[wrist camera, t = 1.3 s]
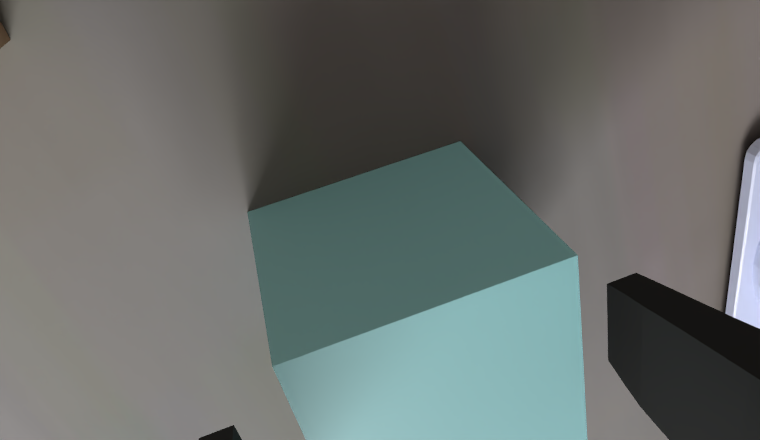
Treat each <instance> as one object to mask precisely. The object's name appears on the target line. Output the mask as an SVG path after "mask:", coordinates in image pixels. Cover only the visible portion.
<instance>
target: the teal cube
mask: <svg viewBox="0 0 760 440" xmlns="http://www.w3.org/2000/svg"><path fill="white" fill-rule="evenodd" d="M248 218H249V224H250V230H251V237H252V243H253V249H254V255H255V262H256V268H257V274H258V280H259V286H260V293H261V299H262V305H263V311H264V318H265V324H266V330H267V336H268V342H269V349H270V355H271V361H272V367H273V369H274V371H275V373H276V375H277V378H278V380H279V382H280V384H281V386H282V389H283V391H284V393H285V395H286V397H287V399H288V402H289V404H290V406H291V408H292V410H293V413H294V415H295V417H296V419H297V421H298V423H299V426H300V428H301V430H302V432H303V434H304V437H305V439H306V440H587V424H586V405H585V386H584V367H583V348H582V328H581V309H580V290H579V271H578V255H577V254H576V253H575V252H574V251H573V250H572V249H571V248H570V247H569V246H568V245H567V244H566V243H565V242H564V241H562V240H561V239H560V238H559V237H558V236H557V235H556V234H555V233H554V232H553V231H552V230H551V229H550V228H549V227H548V226H547V225H546V224H545V223H544V222H543V221H542V220H541V219H540V218H539V217H538V216H537V215H536V214H535V213H534V212H533V211H532V210H531V209H530V208H529V207H528V206H527V205H525V204H524V203H523V202H522V201H521V200H520V199H519V198H518V197H517V196H516V195H515V194H514V193H513V192H512V191H511V190H510V189H509V188H508V187H507V186H506V185H505V184H504V183H503V182H502V181H501V180H500V179H499V178H498V177H497V176H496V175H495V174H494V173H493V172H492V171H491V170H490V169H488V168H487V167H486V166H485V165H484V164H483V163H482V162H481V161H480V160H479V159H478V158H477V157H476V156H475V155H474V154H473V153H472V152H471V151H470V150H469V149H468V148H467V147H466V146H465V145H464V144H463V143H462V142H461V141H459V142H456V143H453V144H450V145H447V146H444V147H441V148H438V149H435V150H432V151H429V152H426V153H423V154H420V155H417V156H414V157H411V158H408V159H405V160H402V161H399V162H396V163H393V164H390V165H387V166H384V167H381V168H378V169H375V170H372V171H369V172H366V173H363V174H360V175H357V176H354V177H351V178H348V179H345V180H342V181H339V182H336V183H333V184H330V185H327V186H324V187H321V188H318V189H315V190H312V191H309V192H306V193H303V194H300V195H297V196H294V197H291V198H288V199H285V200H282V201H279V202H276V203H273V204H270V205H267V206H264V207H261V208H258V209H255V210H252V211H249V212H248Z"/></svg>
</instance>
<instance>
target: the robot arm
mask: <svg viewBox="0 0 760 440" xmlns="http://www.w3.org/2000/svg"><path fill="white" fill-rule="evenodd" d="M607 311H608V360H609V362H610V363H611V365H612V366H613V368H614V369H615V371H616V372H617V374H618V375H619V377H620V378H621V380H622V381H623V383H624V384H625V386H626V387H627V388H628V390H629V391H630V393H631V394H632V395H633V397H634V398H635V400H636V401H637V403H638V404H639V405H640V407H641V408H642V409H643V410H644V411H645V412H646V414H647V415H648V416H649V417H650V418H651V419H652V421H653V422H654V423H655V424H656V425H657V426H658V427H659V429H660V430H661V431H662V432H663V433H664V434H665V435H666V437H667V438H668V439H669V440H760V138H759V139H757V140H756V141H754V142H753V143H752V144H751V145H750V147H749V148H748V150H747V152H746V155H745V160H744V168H743V176H742V184H741V192H740V200H739V208H738V216H737V224H736V232H735V240H734V248H733V256H732V264H731V272H730V280H729V288H728V296H727V304H726V312H725V313H723V312H721V311H718V310H716V309H714V308H712V307H710V306H707V305H705V304H703V303H701V302H699V301H697V300H694V299H692V298H690V297H688V296H686V295H684V294H681V293H679V292H677V291H675V290H673V289H671V288H668V287H666V286H664V285H662V284H660V283H658V282H655V281H653V280H651V279H649V278H647V277H644V276H642V275H640V274H637V273H635V274H632V275H629V276H627V277H624V278H621V279H619V280H616V281H614V282H611V283H608V284H607ZM199 440H242V439H241V437H240V436H239V434H238V432H237V430H236V428H235V427H234V425H233V426H230V427H227V428H225V429H222V430H220V431H217V432H214V433H212V434H209V435H206V436H204V437H201V438H199Z"/></svg>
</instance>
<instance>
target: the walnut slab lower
mask: <svg viewBox="0 0 760 440" xmlns="http://www.w3.org/2000/svg"><path fill="white" fill-rule="evenodd" d="M9 41H10V38H9V36H8V34H7V33H6V31H5V29H4V27H3V25H2V24H1V22H0V48H1V47H3V46H4V45H5V44H6V43H7V42H9Z"/></svg>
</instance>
